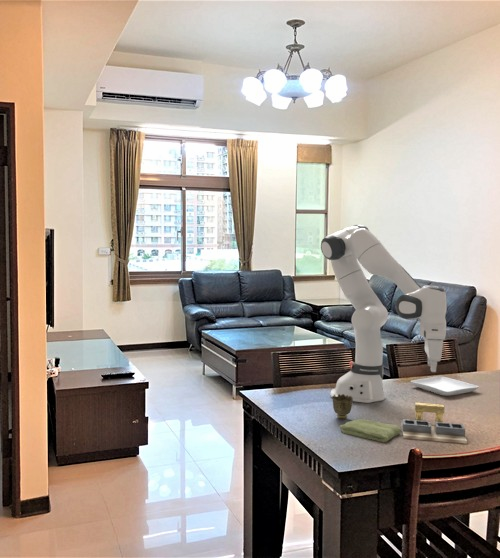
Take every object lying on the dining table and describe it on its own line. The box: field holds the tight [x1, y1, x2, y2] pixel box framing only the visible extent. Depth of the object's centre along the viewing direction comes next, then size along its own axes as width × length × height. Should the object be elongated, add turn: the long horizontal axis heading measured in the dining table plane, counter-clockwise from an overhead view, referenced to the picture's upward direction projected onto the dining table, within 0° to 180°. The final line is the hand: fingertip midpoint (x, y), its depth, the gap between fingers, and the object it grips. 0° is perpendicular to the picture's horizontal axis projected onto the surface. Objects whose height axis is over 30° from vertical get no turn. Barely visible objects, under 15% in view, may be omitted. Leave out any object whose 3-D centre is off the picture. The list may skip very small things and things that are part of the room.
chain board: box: [400, 422, 468, 445], centre depth 192 cm, size 20×13×1 cm, turn 78°
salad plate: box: [410, 375, 480, 397], centre depth 250 cm, size 21×21×3 cm
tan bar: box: [414, 402, 445, 423], centre depth 205 cm, size 10×3×6 cm, turn 78°
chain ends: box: [401, 418, 466, 438], centre depth 192 cm, size 20×5×2 cm, turn 78°
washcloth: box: [339, 418, 402, 443], centre depth 193 cm, size 13×18×3 cm
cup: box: [331, 394, 354, 420], centre depth 207 cm, size 8×7×8 cm
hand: (431, 368), depth 204 cm, fingers open, 8 cm apart
